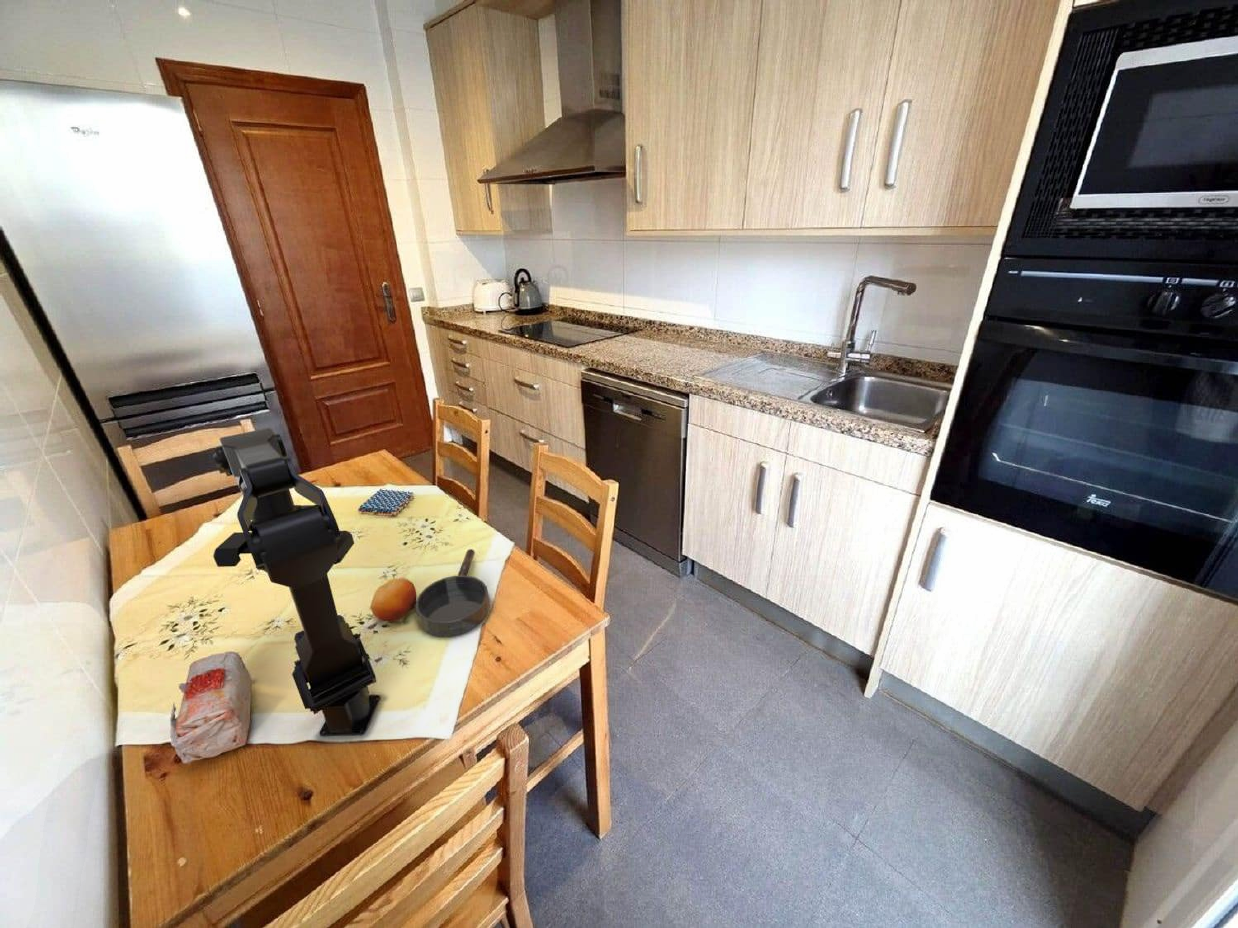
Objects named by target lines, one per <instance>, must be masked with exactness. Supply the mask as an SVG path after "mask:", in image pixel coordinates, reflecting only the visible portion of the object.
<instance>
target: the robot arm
mask: <svg viewBox="0 0 1238 928" xmlns="http://www.w3.org/2000/svg"><path fill="white" fill-rule="evenodd" d="M219 442H220V445H218V446H215V449H214V451H215V452H214V454H213V459H214V461H215V464H216V466H217V469H218V472H219V474H225V475H226V477H230V476H233V477H234V478H235V481H236V483H237V486H238V488H239V490H240V493H241V495H242V499H241V502H240V505H239V507H238V510H237V513H236V517H237V520H238V522H239V525H240V528H241V532H239V531H238V532H236V531H235V532H233V533H232V534H231V535H230V536H228V537H227V538H226V539H225V540H224V541H223V542H222V543H220V544H219V545H218V546H217V547H216V548H215V549H214V550H213V555H212V558H213V560H214V562H215V565H216V566H217V567H218V568H226V567H227V568H228V567H236V566H238V564H239V563H241V561H242V558H241V556H240V555H247V554H248V555H249V554H250V555H251V557H252V559H253V562H254V564H255V569H256V570H258V571H262V572H265V573H266V574H267V576H268V578H269V581H270V582H271V583H273V584H276V585H280V586H283V587H286V588H287V587H288V590H289V592H290V596H291V598H292V601H293V604H294V606H295V609H296V612H297V615H298V619H299V621H300V624H301V627H302V630H301V631H299V632H296V633H295V635H294V637H293V640H294V642H295V646H294V648H295V651H296V654H297V656H298V659H296V660H295V661H293V664H294V666H293V668H294V669H293V671H292V674H291V675H292V678H293V681H294V683H295V686H296V689H297V691H298V694H299V696H300V699H301V703H302V705H303V707H304V710H305V709H306V710H309V711H310V712H312V713H313V715H316V714H319V712H322V715H323V717H324V720H325V721H324V722H323V725H322V726H321V729H320V730H319V736H320V737H322V738H324V737H325V738H327V737H350V736H351V737H352V736H355V737H356V736H363V735H365V734H366V733H367V731H368V729H369V726H370V724H371V721H372V720H373V717H374V715H375V712H376V711H377V708H378V705H379V703H380V701H381V695H379V694H370V691H369V686H371V685H374V684H377V682H378V681H377V676H376V674H375V672H374V669H373V666H372V664H371V661H370V658H369V656H368V654H367V651H366V649H365V647H364V645H363V642H362V640H361V637H360V635H359V633H358V632H356V633H353V630H352V628H351V626H350V624H349V622H347V621H346V620H345V617H344V616H343V615H341V614H338V610H337V607H336V603H335V599H334V595H333V592H332V591H333V590H332V588H331V583H330V580H329V576H328V573H329V572H330V571H331V569H332V567H334V565H338V564H340V563H341V562H342V561H343V560H344V558H345V557H346V555H347V554H348V553H349V552H350V550H351V549H352V548H353V546H354V544H355V540H354V536H353V534H352V532H351V531H349V530H340V527H339V525H338V522H337V520H336V517H335V515H334V512H333V510H332V508H331V506H330V504H329V503H330V502H329V501H328V499H327V497H326V495H325V492H324V490H323V489H321V488H319V487H318V486H317V485H315V484H313V483H312V482H310V481H309V480H307V479H306V478H304V477H302V476H301V475H299V474H298V473H297V471H296V468H295V466H294V464H293V461H292V459H291V458H290V456H287V455H288V454H287V450H286V447H285V444H284V441H283V439H282V436H281V434H280V433H275V431H273V429H272V428H271V427H266V428H261V429H256V430H251V431H246V432H242V433H241V432H240V433H237V434H232V435H226V436H222V437H220V438H219ZM292 489H294V491H295V492H296V494H298V495H300V496H301V497H303V498H305V499H306V500H308V501H310V502H311V503H313V504H305V505H304V504H303V505H302V504H295V502H294V499H293V496H292V493H291V490H292Z"/></svg>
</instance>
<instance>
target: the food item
mask: <svg viewBox="0 0 1238 928" xmlns="http://www.w3.org/2000/svg"><path fill="white" fill-rule="evenodd" d="M178 689H179V690H181V693H183V694H182V695H183V696H182V697H181V702H180V708H179V711H178V713H177V717H176V710H177V707H176V705H175V702H173V704H172V709H171V712H170V714H171V715H170V718H169V722H170V734H169V735H170V745H171V747H173V748H174V749H175V753H176V755H177V756H178V757H179V758H180V759H181V762H182V763H183V764H185V765H186V764H187V765H188V764H191V763H192V762H194V761H199V760H202V759H206V758H207V759H208V758H209V759H210V758H214V757H217V756H219V755H221V754H222V753H227V752H230V751H233V750H236V749H238V748H240V747H244V746H246V744H247V741H248V735H249V729H250V720H251V719H250V718H251V703H252V675H251V673H250V671H249V670H248V669H247V667H246V664H245V662H244V660H243V657H242V656H241V655H240V653H239V652H235V651H225V652H221V653H220V652H219V653H215V654H211V655H209V656H206V657H203V658H200V659H197V660H195V661H193V662H191V663H190V664H189V669H188V674H187V677H186V681H185V683H183V682H182V683H178Z"/></svg>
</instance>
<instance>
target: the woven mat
mask: <svg viewBox="0 0 1238 928" xmlns="http://www.w3.org/2000/svg"><path fill="white" fill-rule="evenodd" d="M413 499H415V494H414V492H413V491H412V492H411V491H404V490H402V491H400V490H393V489H391V490H388V489H382V488H380V489H379V490H377V491H376V492H374V493H373V494H372V495H371V496H369V498H368V499H366V501H364V502H363V503H362V504H360V506H359V508H358V510H357V511H358V512H359V513H360V514H366V515H374V514H375V515H376V514H377V515H379V516H390V517H391V516H396V515H399V513H400V511H401V510H403V509H404V508H406V507H408V505H407V504H410V502H411V500H413Z"/></svg>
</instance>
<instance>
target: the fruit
mask: <svg viewBox="0 0 1238 928" xmlns="http://www.w3.org/2000/svg"><path fill="white" fill-rule="evenodd" d="M416 600H417V590H416V587H415V584H414V583H413V582H412V581H411V580H409V579H408V578H404V577H395V578H393V579H390V580H388V581H387V582H385V583H384V584H382V585H380V586H378V588H377V589H376V590H375V591H374V593H373V596H372V598H371V602H370V609H371V612H372V614H373V616H375V617H376V618H377V619H378V620H379V621H381V622H385V623H391V624H393V623H397V622H405V620H406V618H407V617H408V615H409V613H411V612H412V611H413V610H416Z"/></svg>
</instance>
